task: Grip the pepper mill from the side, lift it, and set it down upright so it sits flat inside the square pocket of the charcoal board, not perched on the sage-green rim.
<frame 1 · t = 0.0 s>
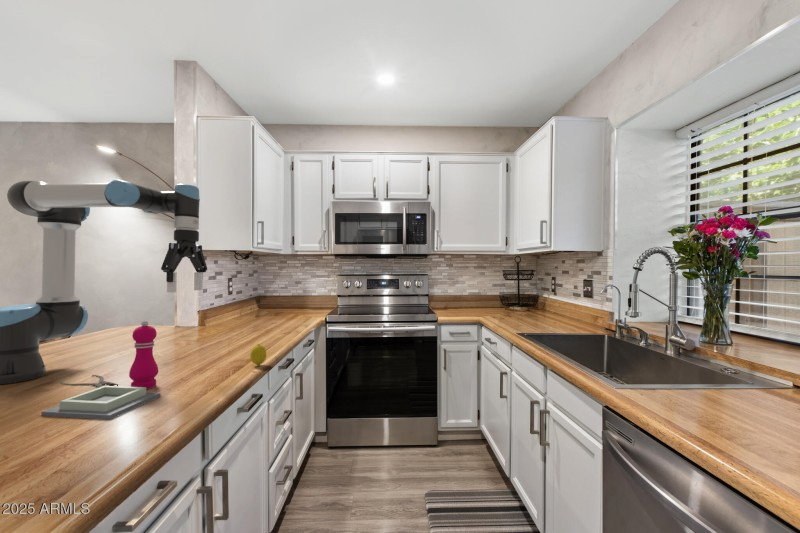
hand: (185, 291, 127), 28 cm above the counter, tool pointing down, fingers open, 13 cm apart
pepper mill: (143, 387, 111), on the counter
pliers: (98, 383, 115), on the counter
pocket board: (105, 405, 96), on the counter
lemon: (258, 366, 136), on the counter
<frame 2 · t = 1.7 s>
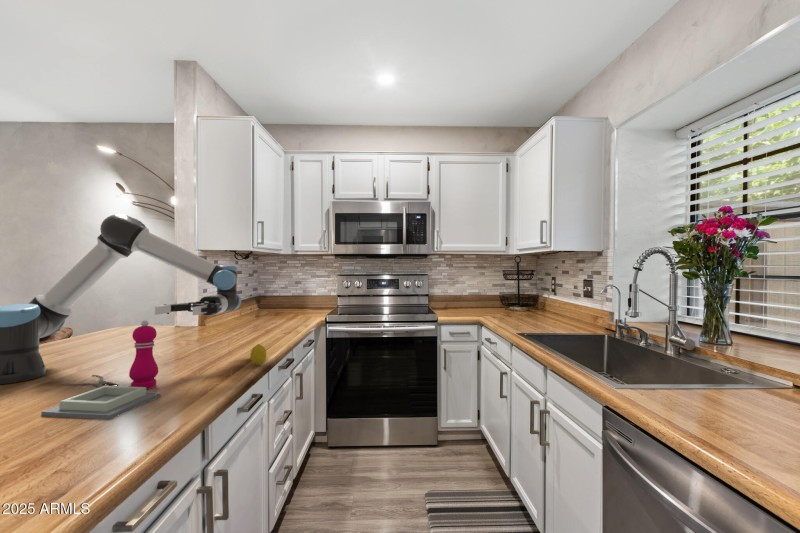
hand: (174, 310, 123), 22 cm above the counter, tool horizontal, fingers open, 13 cm apart
nothing on the counter moved.
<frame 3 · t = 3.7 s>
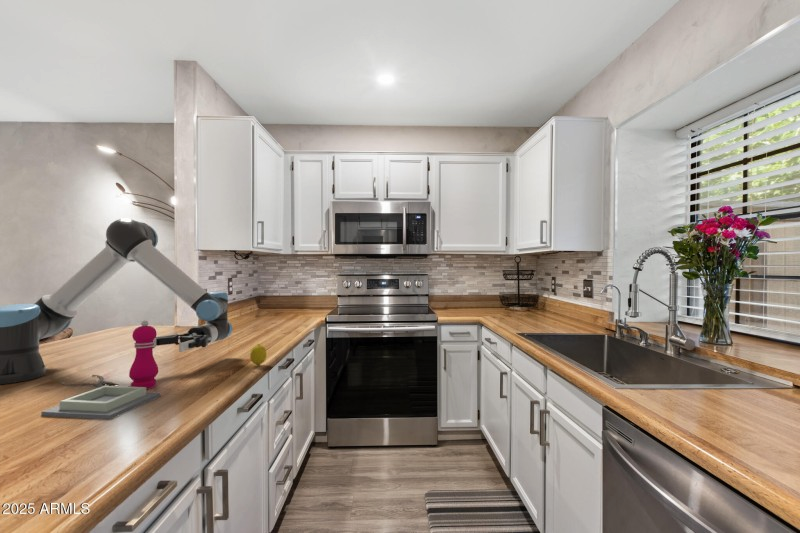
hand: (159, 347, 116), 11 cm above the counter, tool horizontal, fingers open, 13 cm apart
nothing on the counter moved.
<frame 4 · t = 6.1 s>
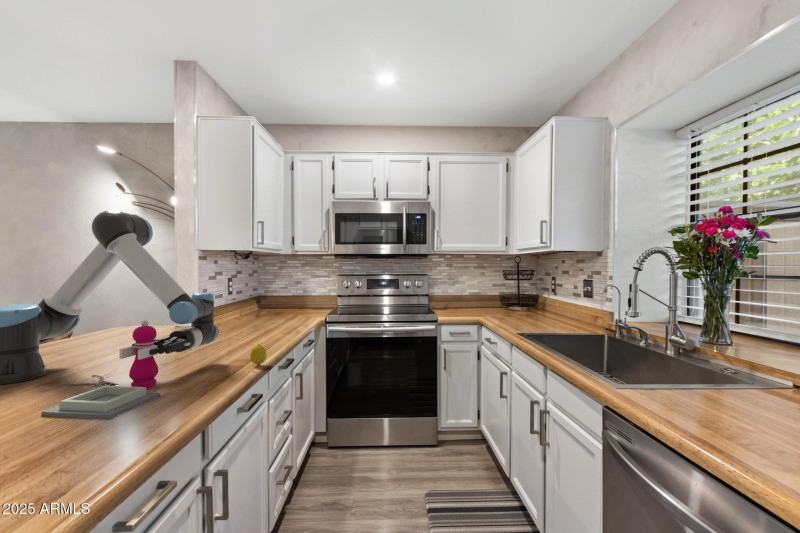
hand: (130, 354, 106), 11 cm above the counter, tool horizontal, fingers closed on pepper mill, 5 cm apart
pepper mill: (143, 387, 111), on the counter, touching gripper
everything else where it was.
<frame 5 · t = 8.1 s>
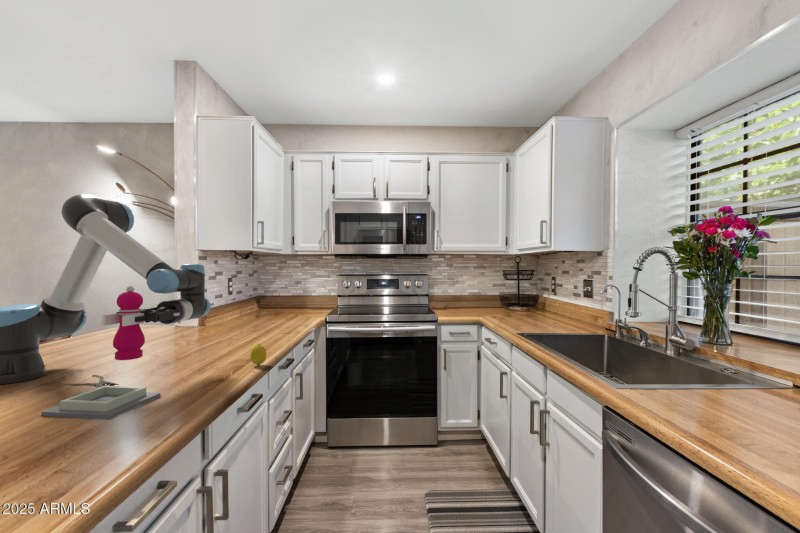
hand: (113, 320, 98), 22 cm above the counter, tool horizontal, fingers closed on pepper mill, 5 cm apart
pepper mill: (128, 358, 103), point 11 cm above the counter, touching gripper
everything else where it was.
when the fingers open (13 cm above the counter, at t = 10.5 s): pepper mill drops 1 cm, resting on pocket board.
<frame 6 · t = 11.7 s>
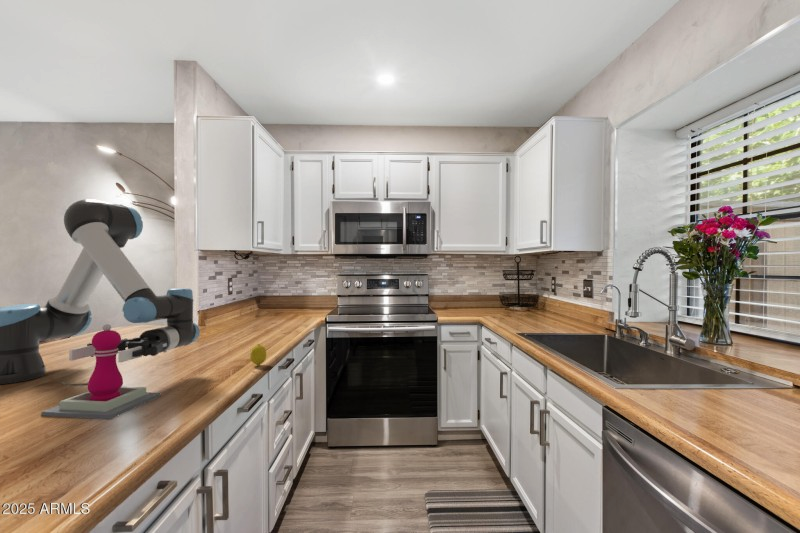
hand: (94, 356, 93), 14 cm above the counter, tool horizontal, fingers open, 13 cm apart
pepper mill: (105, 402, 96), point 1 cm above the counter, touching pocket board
everything else where it was.
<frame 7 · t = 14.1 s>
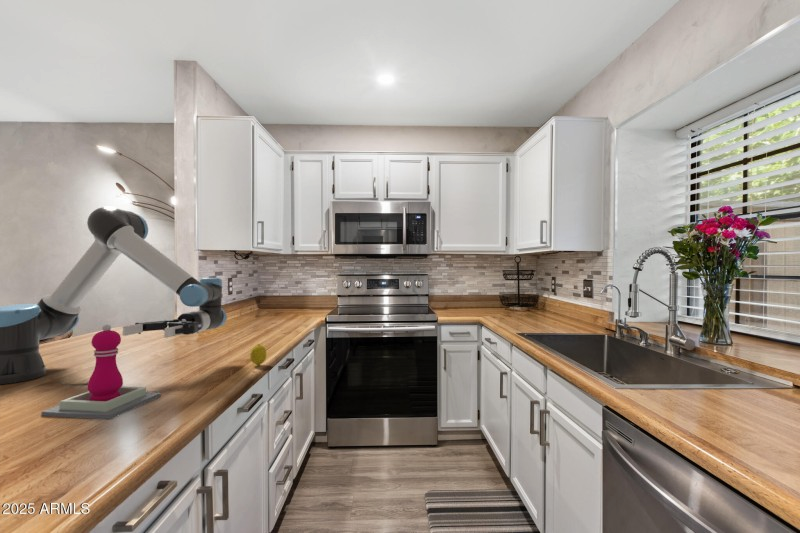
hand: (144, 332, 109), 17 cm above the counter, tool horizontal, fingers open, 13 cm apart
nothing on the counter moved.
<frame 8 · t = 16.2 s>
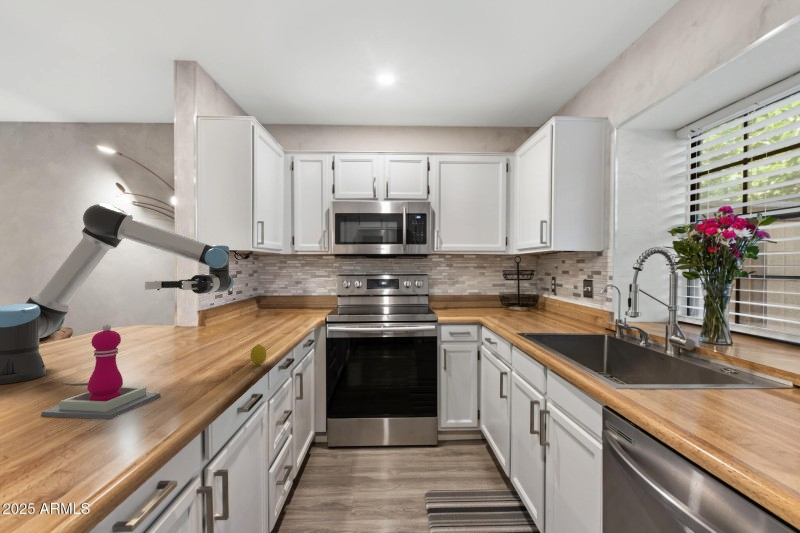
hand: (164, 285, 123), 30 cm above the counter, tool horizontal, fingers open, 13 cm apart
nothing on the counter moved.
at the end: pepper mill 0.0 cm off-centre on the pocket board, point 0.8 cm above the pocket board's base; pepper mill tilted 0°; the gripper is holding nothing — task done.
